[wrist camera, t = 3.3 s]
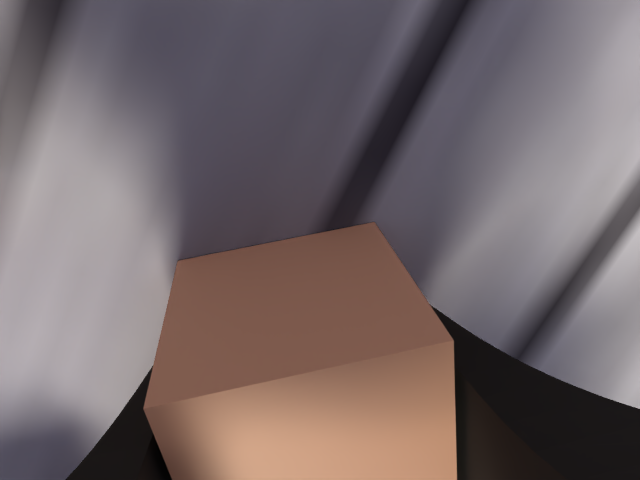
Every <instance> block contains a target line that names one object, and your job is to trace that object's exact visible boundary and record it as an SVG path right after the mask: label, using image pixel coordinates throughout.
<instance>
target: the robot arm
mask: <svg viewBox="0 0 640 480" xmlns="http://www.w3.org/2000/svg"><path fill="white" fill-rule="evenodd" d="M430 306H431V305H430ZM431 307H432V309H433V310H434V312H435V313H436V315H437V316H438V318H439V319H440V321H441V322H442V324H443V325H444V327H445V328H446V330H447V331H448V333H449V334H450V336H451V337H452V339H453V340H454V373H455V415H456V457H457V480H640V409H638V408H635V407H631V406H628V405H625V404H622V403H619V402H616V401H613V400H610V399H607V398H604V397H602V396H599V395H596V394H594V393H591V392H589V391H586V390H583V389H581V388H578V387H575V386H573V385H570V384H568V383H566V382H563V381H561V380H559V379H556V378H554V377H552V376H550V375H548V374H545V373H543V372H541V371H539V370H537V369H535V368H533V367H531V366H528V365H526V364H524V363H522V362H521V361H519V360H517V359H515V358H513V357H511V356H509V355H508V354H506V353H504V352H502V351H500V350H499V349H497V348H495V347H493V346H492V345H490V344H488V343H487V342H485V341H483V340H482V339H480V338H478V337H477V336H475V335H474V334H472V333H471V332H469V331H467V330H466V329H464V328H463V327H461V326H460V325H458V324H457V323H455V322H454V321H453V320H451V319H450V318H448V317H447V316H445V315H444V314H443V313H441V312H440V311H438V310H437V309H435V308H434V307H433V306H431ZM152 369H153V366H152V368H151V369H150V371H149V372H148V374H147V375H146V377H145V378H144V380H143V381H142V383H141V384H140V386H139V387H138V389H137V390H136V392H135V393H134V395H133V396H132V397H131V399H130V400H129V402H128V403H127V404H126V406H125V407H124V409H123V410H122V411H121V413H120V414H119V416H118V417H117V418H116V420H115V421H114V422H113V424H112V425H111V426H110V428H109V429H108V430H107V431H106V433H105V434H104V435H103V437H102V438H101V439H100V440H99V442H98V443H97V444H96V445H95V447H94V448H93V449H92V450H91V452H90V453H89V454H88V455H87V456H86V458H85V459H84V460H83V461H82V462H81V463H80V464H79V466H78V467H77V468H76V469H75V470H74V471H73V472H72V473H71V474H70V475H69V477H68V478H67V479H66V480H172V478H171V476H170V473H169V471H168V468H167V466H166V463H165V461H164V458H163V456H162V453H161V451H160V449H159V446H158V444H157V441H156V439H155V436H154V434H153V431H152V429H151V426H150V424H149V422H148V419H147V417H146V414H145V412H144V409H143V408H144V404H145V399H146V395H147V391H148V386H149V382H150V378H151V373H152Z"/></svg>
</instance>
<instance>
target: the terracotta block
mask: <svg viewBox="0 0 640 480" xmlns="http://www.w3.org/2000/svg"><path fill="white" fill-rule="evenodd" d="M143 409H144V412H145V414H146V417H147V419H148V422H149V424H150V426H151V429H152V431H153V434H154V436H155V439H156V441H157V444H158V446H159V449H160V451H161V453H162V456H163V458H164V461H165V463H166V466H167V468H168V471H169V473H170V476H171V478H172V480H457V457H456V415H455V373H454V340H453V339H452V337H451V336H450V334H449V333H448V331H447V330H446V328H445V327H444V325H443V324H442V322H441V321H440V319H439V318H438V316H437V315H436V313H435V312H434V310H433V309H432V307H431V306H430V304H429V303H428V301H427V300H426V298H425V297H424V295H423V294H422V292H421V291H420V289H419V288H418V286H417V285H416V283H415V282H414V280H413V279H412V277H411V276H410V274H409V273H408V271H407V270H406V268H405V267H404V265H403V264H402V262H401V261H400V259H399V258H398V256H397V255H396V253H395V252H394V250H393V249H392V247H391V246H390V244H389V243H388V241H387V240H386V238H385V237H384V235H383V234H382V232H381V231H380V230H379V228H378V227H377V225H376V224H375V222H372V223H367V224H362V225H357V226H352V227H346V228H341V229H336V230H331V231H326V232H321V233H316V234H311V235H306V236H301V237H296V238H291V239H286V240H280V241H275V242H270V243H265V244H260V245H255V246H250V247H245V248H240V249H235V250H230V251H225V252H220V253H214V254H209V255H204V256H199V257H194V258H189V259H184V260H179V261H178V262H177V266H176V270H175V275H174V279H173V283H172V287H171V292H170V296H169V300H168V305H167V309H166V313H165V318H164V322H163V326H162V330H161V335H160V339H159V343H158V348H157V352H156V356H155V361H154V365H153V369H152V373H151V378H150V382H149V386H148V391H147V395H146V399H145V404H144V408H143Z"/></svg>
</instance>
